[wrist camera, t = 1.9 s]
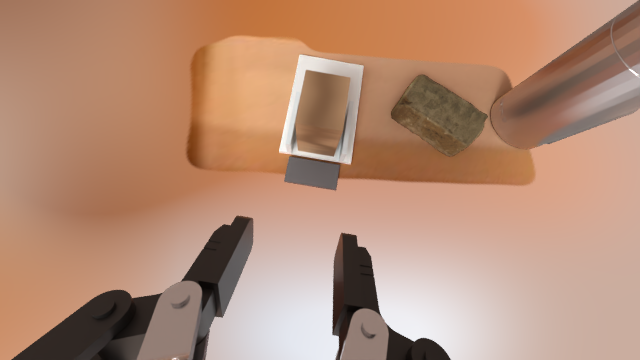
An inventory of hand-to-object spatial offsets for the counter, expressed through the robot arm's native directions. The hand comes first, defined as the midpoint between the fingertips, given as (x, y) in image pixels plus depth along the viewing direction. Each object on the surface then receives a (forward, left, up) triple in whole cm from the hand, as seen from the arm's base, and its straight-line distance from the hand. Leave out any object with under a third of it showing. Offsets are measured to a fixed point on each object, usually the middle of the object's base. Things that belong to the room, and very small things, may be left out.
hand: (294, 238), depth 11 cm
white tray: (0, -17, -18) cm, 25 cm away
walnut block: (0, -14, -17) cm, 23 cm away
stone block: (-16, -19, -18) cm, 31 cm away
